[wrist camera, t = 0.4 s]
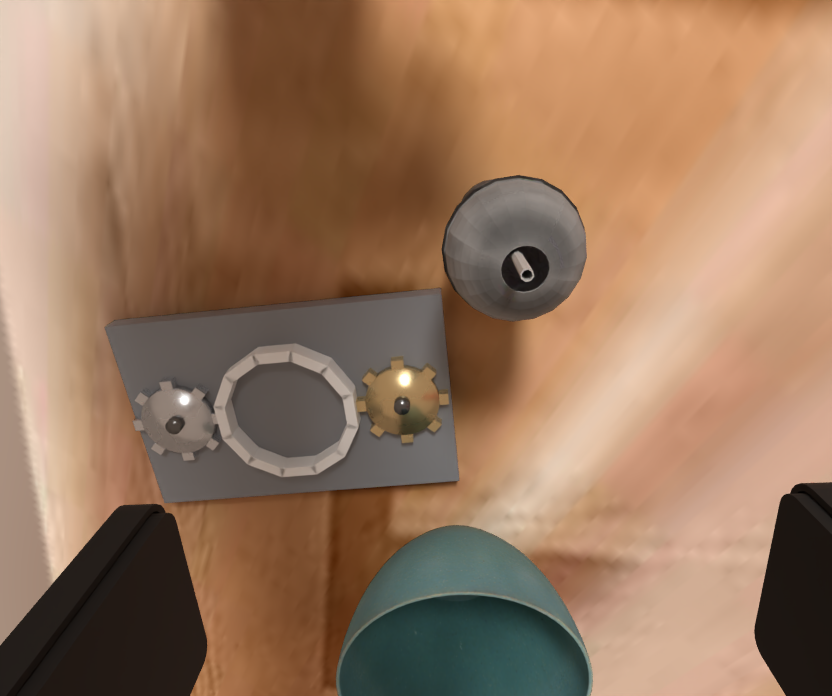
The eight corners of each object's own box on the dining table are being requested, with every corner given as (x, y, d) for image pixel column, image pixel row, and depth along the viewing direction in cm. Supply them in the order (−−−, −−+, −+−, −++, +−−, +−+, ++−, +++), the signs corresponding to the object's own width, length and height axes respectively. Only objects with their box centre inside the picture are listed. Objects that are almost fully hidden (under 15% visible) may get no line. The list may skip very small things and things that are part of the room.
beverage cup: (476, 283, 41) (512, 421, 23) (418, 201, 39) (406, 278, 20) (563, 225, 39) (680, 323, 21) (507, 135, 37) (582, 155, 19)
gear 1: (125, 381, 43) (114, 390, 42) (213, 373, 43) (206, 382, 41) (151, 458, 46) (142, 469, 44) (235, 451, 45) (228, 462, 44)
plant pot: (587, 595, 52) (630, 728, 41) (415, 657, 56) (411, 794, 45) (505, 447, 46) (529, 554, 35) (319, 527, 50) (286, 648, 39)
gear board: (115, 320, 43) (93, 334, 40) (440, 287, 41) (441, 300, 39) (172, 492, 49) (156, 514, 46) (458, 470, 47) (460, 492, 45)
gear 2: (351, 360, 42) (347, 369, 41) (444, 352, 42) (444, 360, 40) (364, 440, 45) (362, 451, 43) (452, 433, 44) (452, 444, 43)
